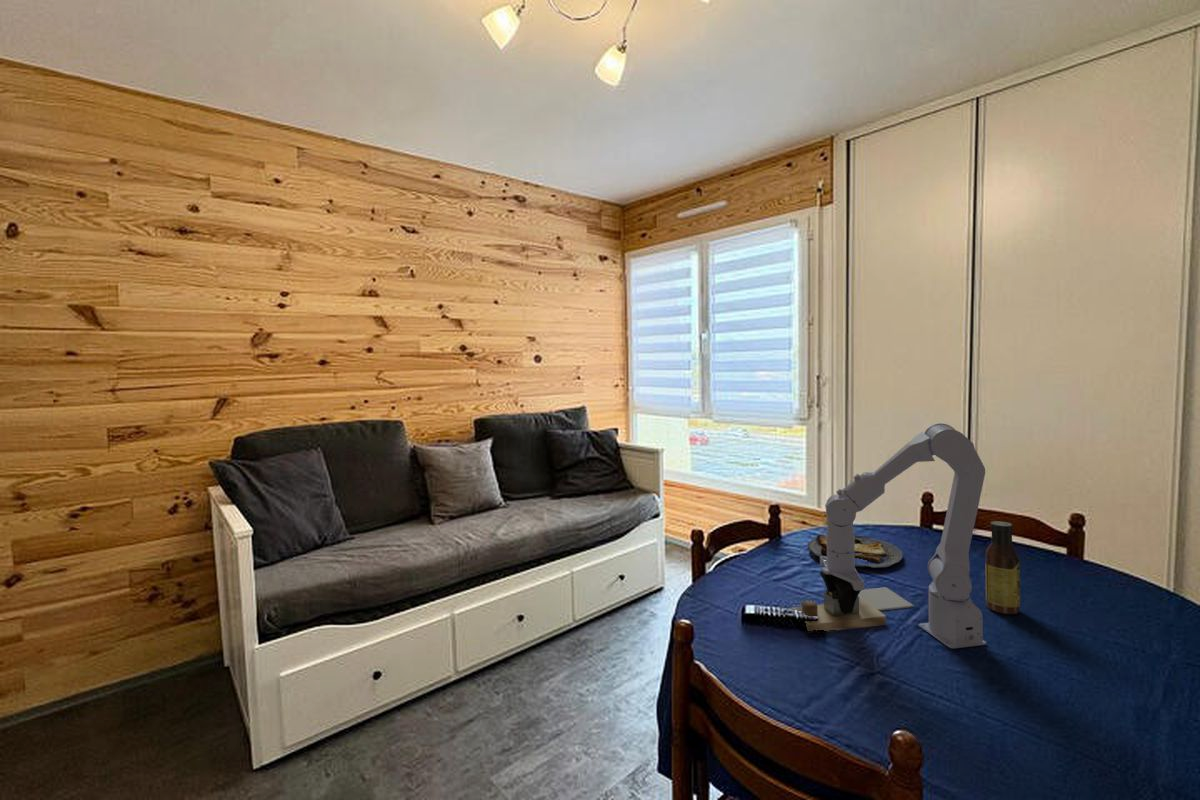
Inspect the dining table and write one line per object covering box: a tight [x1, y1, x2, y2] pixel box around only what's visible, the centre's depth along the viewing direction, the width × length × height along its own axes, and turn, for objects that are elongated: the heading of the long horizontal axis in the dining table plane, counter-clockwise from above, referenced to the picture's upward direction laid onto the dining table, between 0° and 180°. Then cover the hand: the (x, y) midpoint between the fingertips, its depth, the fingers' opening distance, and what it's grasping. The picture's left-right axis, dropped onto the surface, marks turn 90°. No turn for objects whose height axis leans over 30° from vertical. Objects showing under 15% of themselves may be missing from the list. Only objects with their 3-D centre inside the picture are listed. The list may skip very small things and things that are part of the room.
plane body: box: [790, 600, 887, 632], centre depth 121 cm, size 18×8×4 cm, turn 96°
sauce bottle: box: [984, 520, 1021, 615], centre depth 121 cm, size 7×6×20 cm
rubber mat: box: [858, 586, 914, 612], centre depth 129 cm, size 10×10×1 cm
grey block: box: [823, 590, 859, 617], centre depth 121 cm, size 6×4×5 cm, turn 97°
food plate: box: [807, 533, 903, 569], centre depth 157 cm, size 25×23×4 cm
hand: (841, 607), depth 121 cm, fingers closed on grey block, 4 cm apart
